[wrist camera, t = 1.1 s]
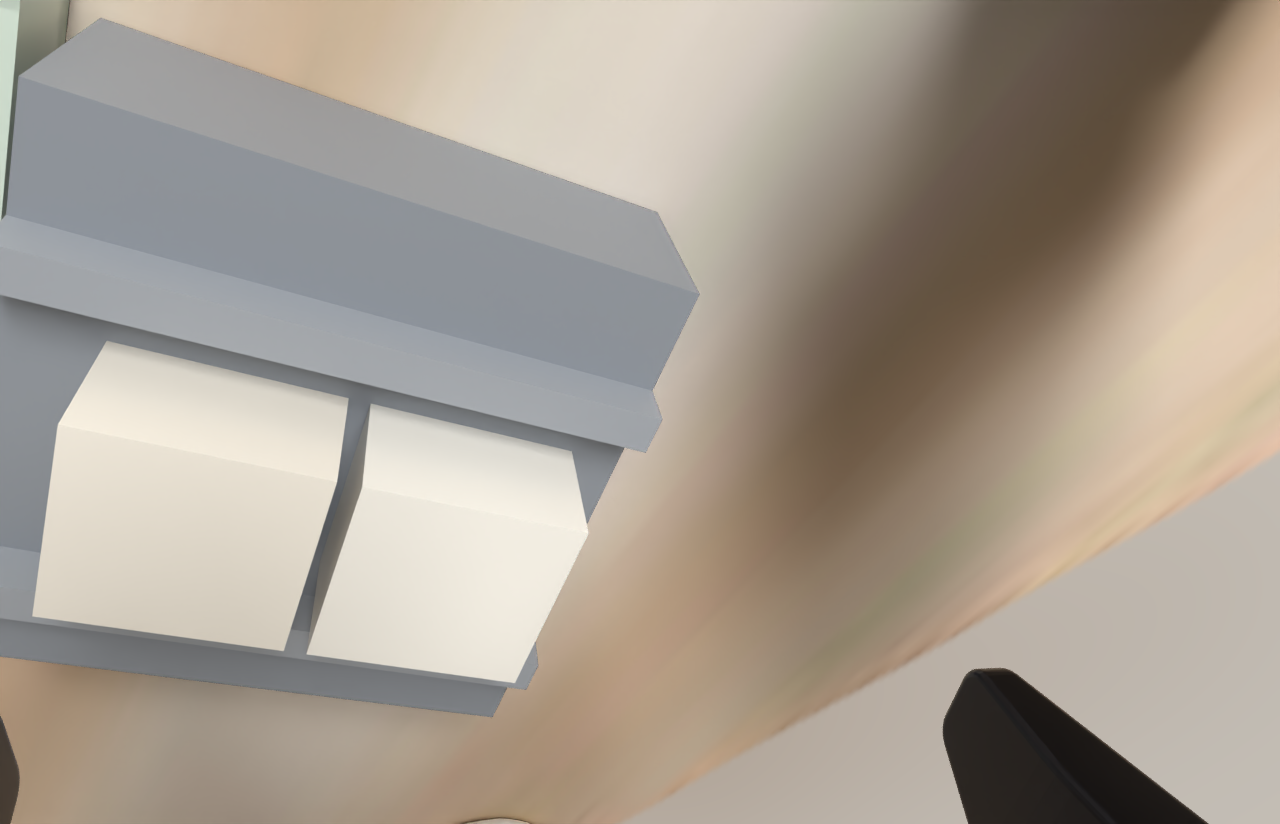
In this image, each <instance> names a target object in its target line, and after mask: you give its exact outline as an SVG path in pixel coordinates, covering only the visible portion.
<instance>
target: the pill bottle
mask: <svg viewBox="0 0 1280 824" xmlns="http://www.w3.org/2000/svg"><path fill="white" fill-rule="evenodd" d="M466 824H530V823H527V822H524V821H519V820H513V819H503V818H498V819H489V820H481V821H476V822H470V823H466Z"/></svg>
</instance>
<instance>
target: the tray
mask: <svg viewBox="0 0 1280 824" xmlns="http://www.w3.org/2000/svg"><path fill="white" fill-rule="evenodd" d="M69 2H70V0H0V221H1V220H2V219H3V218H4V217H5V216H6V210H7V199H8V188H9V177H10V166H11V155H12V144H13V133H14V121H15V110H16V99H17V88H18V77H19V75H21V74H22V73H24V72H25V71H27V70H28V69H29V68H31V67H32V66H34V65H35V64H36V63H38V62H39V61H41V60H42V59H43V58H45V57H46V56H48V55H49V54H50V53H52V52H53V51H55V50H56V49H58V48H59V47H60V46H62V45H63V44H65V38H66V29H67V20H68V11H69Z"/></svg>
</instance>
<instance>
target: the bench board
mask: <svg viewBox="0 0 1280 824" xmlns="http://www.w3.org/2000/svg"><path fill="white" fill-rule="evenodd" d="M698 296H699V292H698V290H697V288H696V286H695V284H694V282H693V280H692V279H691V277H690V275H689V273H688V271H687V269H686V267H685V265H684V263H683V261H682V259H681V257H680V255H679V253H678V251H677V250H676V248H675V246H674V244H673V242H672V240H671V238H670V236H669V234H668V232H667V230H666V228H665V226H664V224H663V222H662V221H661V219H660V217H659V215H658V213H657V212H655V211H652V210H649V209H646V208H643V207H640V206H638V205H635V204H632V203H629V202H626V201H623V200H620V199H618V198H615V197H612V196H609V195H606V194H603V193H600V192H597V191H595V190H592V189H589V188H586V187H583V186H580V185H577V184H575V183H572V182H569V181H566V180H563V179H560V178H557V177H555V176H552V175H549V174H546V173H543V172H540V171H537V170H535V169H532V168H529V167H526V166H523V165H520V164H517V163H515V162H512V161H509V160H506V159H503V158H500V157H497V156H494V155H492V154H489V153H486V152H483V151H480V150H477V149H474V148H472V147H469V146H466V145H463V144H460V143H457V142H454V141H452V140H449V139H446V138H443V137H440V136H437V135H434V134H432V133H429V132H426V131H423V130H420V129H417V128H414V127H411V126H409V125H406V124H403V123H400V122H397V121H394V120H391V119H389V118H386V117H383V116H380V115H377V114H374V113H371V112H369V111H366V110H363V109H360V108H357V107H354V106H351V105H349V104H346V103H343V102H340V101H337V100H334V99H331V98H328V97H326V96H323V95H320V94H317V93H314V92H311V91H308V90H306V89H303V88H300V87H297V86H294V85H291V84H288V83H286V82H283V81H280V80H277V79H274V78H271V77H268V76H266V75H263V74H260V73H257V72H254V71H251V70H248V69H245V68H243V67H240V66H237V65H234V64H231V63H228V62H225V61H223V60H220V59H217V58H214V57H211V56H208V55H205V54H203V53H200V52H197V51H194V50H191V49H188V48H185V47H183V46H180V45H177V44H174V43H171V42H168V41H165V40H162V39H160V38H157V37H154V36H151V35H148V34H145V33H142V32H140V31H137V30H134V29H131V28H128V27H125V26H122V25H120V24H117V23H114V22H111V21H108V20H105V19H102V18H100V19H98V20H97V21H96V22H94V23H93V24H91V25H90V26H89V27H87V28H86V29H84V30H83V31H81V32H80V33H79V34H77V35H76V36H74V37H73V38H72V39H70V40H69V41H67V42H66V43H65V44H63V45H62V46H60V47H59V48H58V49H56V50H55V51H53V52H52V53H50V54H49V55H48V56H46V57H45V58H43V59H42V60H41V61H39V62H38V63H36V64H35V65H34V66H32V67H31V68H29V69H28V70H27V71H25V72H24V73H22V74H21V75H19V77H18V88H17V99H16V110H15V121H14V133H13V144H12V155H11V166H10V177H9V188H8V199H7V210H6V216H5V217H4V218H3V219H2V220H1V221H0V657H8V658H16V659H24V660H32V661H41V662H49V663H57V664H65V665H73V666H81V667H89V668H97V669H105V670H114V671H122V672H130V673H138V674H146V675H154V676H162V677H170V678H178V679H187V680H195V681H203V682H211V683H219V684H227V685H235V686H243V687H251V688H260V689H268V690H276V691H284V692H292V693H300V694H308V695H316V696H324V697H333V698H341V699H349V700H357V701H365V702H373V703H381V704H389V705H397V706H405V707H414V708H422V709H430V710H438V711H446V712H454V713H462V714H470V715H478V716H487V717H493V715H494V713H495V711H496V709H497V707H498V705H499V703H500V701H501V699H502V697H503V695H504V693H505V691H506V689H507V687H509V688H516V689H524V690H526V689H527V687H528V685H529V683H530V681H531V679H532V677H533V675H534V673H535V671H536V669H537V667H538V659H537V650H536V642H535V643H534V645H533V647H532V649H531V651H530V653H529V655H528V657H527V659H526V661H525V663H524V666H523V668H522V670H521V672H520V674H519V676H518V678H517V680H516V682H515V683H510V682H503V681H496V680H489V679H482V678H474V677H467V676H460V675H453V674H445V673H438V672H431V671H424V670H416V669H409V668H402V667H395V666H388V665H380V664H373V663H366V662H359V661H351V660H344V659H337V658H330V657H322V656H315V655H308V654H307V647H308V640H309V633H310V626H311V619H312V612H313V606H314V599H315V592H316V585H317V578H318V571H319V565H320V560H321V556H322V553H323V550H324V547H325V544H326V541H327V538H328V535H329V532H330V528H331V525H332V522H333V519H334V516H335V513H336V510H337V507H338V504H339V500H340V497H341V494H342V491H343V488H344V485H345V482H346V479H347V476H348V473H349V469H350V466H351V463H352V460H353V457H354V454H355V451H356V448H357V445H358V441H359V438H360V435H361V432H362V429H363V426H364V423H365V420H366V417H367V414H368V410H369V407H370V404H375V405H379V406H383V407H387V408H392V409H396V410H400V411H404V412H408V413H413V414H417V415H421V416H425V417H429V418H434V419H438V420H442V421H446V422H450V423H455V424H459V425H463V426H467V427H472V428H476V429H480V430H484V431H488V432H493V433H497V434H501V435H505V436H509V437H514V438H518V439H522V440H526V441H530V442H535V443H539V444H543V445H547V446H551V447H556V448H560V449H564V450H568V451H572V455H573V460H574V465H575V469H576V474H577V479H578V484H579V489H580V494H581V499H582V503H583V508H584V513H585V518H586V523H588V521H589V519H590V517H591V515H592V513H593V511H594V509H595V507H596V505H597V503H598V501H599V499H600V497H601V494H602V492H603V490H604V488H605V486H606V484H607V482H608V480H609V478H610V476H611V474H612V472H613V470H614V468H615V466H616V464H617V462H618V460H619V458H620V456H621V454H622V452H623V450H624V448H628V449H633V450H637V451H641V452H645V453H646V451H647V449H648V447H649V445H650V443H651V441H652V439H653V437H654V435H655V433H656V431H657V429H658V427H659V425H660V423H661V421H662V416H661V414H660V411H659V408H658V405H657V402H656V400H655V397H654V394H653V391H652V390H653V388H654V386H655V384H656V382H657V380H658V378H659V376H660V374H661V372H662V370H663V368H664V366H665V364H666V362H667V360H668V358H669V356H670V353H671V351H672V349H673V347H674V345H675V343H676V341H677V339H678V337H679V335H680V333H681V331H682V329H683V327H684V325H685V323H686V321H687V319H688V317H689V315H690V313H691V311H692V309H693V306H694V304H695V302H696V300H697V298H698ZM106 341H110V342H114V343H118V344H122V345H127V346H131V347H135V348H139V349H144V350H148V351H152V352H156V353H160V354H165V355H169V356H173V357H177V358H181V359H186V360H190V361H194V362H198V363H202V364H207V365H211V366H215V367H219V368H223V369H228V370H232V371H236V372H240V373H244V374H249V375H253V376H257V377H261V378H265V379H270V380H274V381H278V382H282V383H286V384H291V385H295V386H299V387H303V388H308V389H312V390H316V391H320V392H324V393H329V394H333V395H337V396H341V397H345V398H349V400H348V407H347V415H346V422H345V429H344V436H343V443H342V451H341V458H340V465H339V472H338V480H337V484H336V487H335V490H334V493H333V497H332V500H331V503H330V506H329V509H328V512H327V516H326V519H325V522H324V525H323V528H322V531H321V535H320V538H319V541H318V544H317V547H316V550H315V553H314V557H313V560H312V563H311V566H310V569H309V572H308V576H307V579H306V582H305V585H304V588H303V591H302V595H301V598H300V601H299V604H298V607H297V610H296V614H295V617H294V620H293V623H292V626H291V629H290V632H289V636H288V639H287V642H286V645H285V648H284V651H279V650H272V649H265V648H257V647H250V646H243V645H236V644H228V643H221V642H214V641H207V640H200V639H192V638H185V637H178V636H171V635H163V634H156V633H149V632H142V631H134V630H127V629H120V628H113V627H106V626H98V625H91V624H84V623H77V622H69V621H62V620H55V619H48V618H40V617H33V616H32V614H33V607H34V599H35V592H36V584H37V577H38V569H39V562H40V554H41V547H42V539H43V532H44V524H45V517H46V509H47V502H48V494H49V487H50V479H51V472H52V464H53V457H54V449H55V442H56V434H57V427H58V423H59V422H60V420H61V418H62V417H63V415H64V413H65V411H66V410H67V408H68V406H69V405H70V403H71V401H72V399H73V398H74V396H75V394H76V393H77V391H78V389H79V387H80V386H81V384H82V382H83V381H84V379H85V377H86V376H87V374H88V372H89V370H90V369H91V367H92V365H93V364H94V362H95V360H96V358H97V357H98V355H99V353H100V352H101V350H102V348H103V346H104V345H105V343H106Z"/></svg>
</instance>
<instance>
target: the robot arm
mask: <svg viewBox="0 0 1280 824" xmlns="http://www.w3.org/2000/svg"><path fill="white" fill-rule="evenodd" d="M943 739H944V744H945V747H946V751H947V754H948V757H949V761H950V764H951V767H952V771H953V774H954V777H955V781H956V784H957V788H958V791H959V794H960V798H961V801H962V804H963V808H964V811H965V814H966V818H967V821H968V824H1208V823H1207V822H1206V821H1204V820H1203V819H1202V818H1201V817H1199V816H1198V815H1197V814H1195V813H1194V812H1193V811H1192V810H1190V809H1189V808H1188V807H1186V806H1185V805H1184V804H1182V803H1181V802H1180V801H1179V800H1177V799H1176V798H1175V797H1173V796H1172V795H1171V794H1170V793H1168V792H1167V791H1166V790H1165V789H1163V788H1162V787H1161V786H1159V785H1158V784H1157V783H1156V782H1154V781H1153V780H1152V779H1151V778H1149V777H1148V776H1147V775H1145V774H1144V773H1143V772H1142V771H1140V770H1139V769H1138V768H1136V767H1135V766H1134V765H1133V764H1131V763H1130V762H1129V761H1127V760H1126V759H1125V758H1124V757H1122V756H1121V755H1120V754H1119V753H1117V752H1116V751H1115V750H1113V749H1112V748H1111V747H1109V746H1108V745H1107V744H1106V743H1104V742H1103V741H1102V740H1101V739H1099V738H1098V737H1097V736H1095V735H1094V734H1093V733H1092V732H1090V731H1089V730H1088V729H1086V728H1085V727H1084V726H1083V725H1081V724H1080V723H1079V722H1077V721H1076V720H1075V719H1074V718H1072V717H1071V716H1069V714H1067V713H1066V712H1065V711H1063V710H1062V709H1061V708H1060V707H1058V706H1057V705H1055V704H1054V703H1053V702H1052V701H1051V700H1049V699H1048V698H1047V697H1045V696H1044V695H1043V694H1042V693H1040V692H1039V691H1038V690H1036V689H1035V688H1034V687H1033V686H1031V685H1030V684H1028V683H1027V682H1026V681H1025V680H1024V679H1022V678H1021V677H1019V675H1017V674H1015V673H1014V672H1013V671H1010V670H1008V669H1005V668H987V669H974V670H972V671H970V672H968V673H967V674H966V676H965V677H964V679H963V681H962V683H961V685H960V687H959V689H958V691H957V693H956V695H955V697H954V699H953V701H952V703H951V705H950V707H949V709H948V711H947V713H946V715H945V718H944V723H943ZM19 779H20V777H19V769H18V765H17V762H16V759H15V756H14V753H13V750H12V747H11V744H10V741H9V738H8V735H7V732H6V729H5V726H4V723H3V720H2V718H1V716H0V824H10V823H11V820H12V816H13V812H14V808H15V805H16V801H17V796H18V791H19Z"/></svg>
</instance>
